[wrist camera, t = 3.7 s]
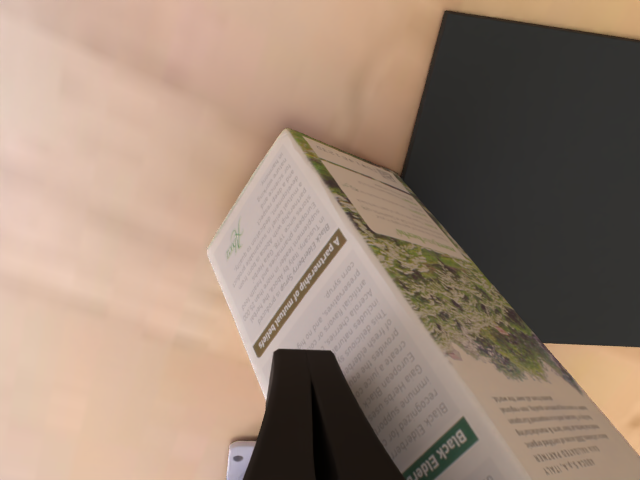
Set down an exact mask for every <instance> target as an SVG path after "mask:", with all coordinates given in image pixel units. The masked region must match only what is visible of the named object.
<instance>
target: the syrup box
mask: <svg viewBox="0 0 640 480" xmlns="http://www.w3.org/2000/svg"><path fill="white" fill-rule="evenodd" d="M207 255H208V258H209V260H210V263H211V265H212V268H213V270H214V273H215V275H216V278H217V280H218V282H219V285H220V287H221V289H222V292H223V294H224V296H225V299H226V301H227V304H228V306H229V309H230V311H231V313H232V316H233V318H234V321H235V323H236V326H237V329H238V331H239V334H240V336H241V339H242V341H243V344H244V346H245V349H246V351H247V353H248V356H249V359H250V362H251V364H252V366H253V369H254V372H255V374H256V377H257V379H258V382H259V384H260V387H261V389H262V392H263V395H264V397H265V400H266V399H267V392H268V386H269V379H270V372H271V365H272V358H273V352H274V351H276V350H277V349H306V350H331V351H332V352H333V353H334V354H335V357H336V359H337V361H338V364H339V366H340V368H341V370H342V372H343V375H344V377H345V379H346V381H347V383H348V385H349V387H350V389H351V391H352V393H353V395H354V396H355V398H356V400H357V402H358V404H359V406H360V408H361V409H362V411H363V413H364V415H365V416H366V418H367V420H368V422H369V423H370V425H371V427H372V428H373V430H374V432H375V434H376V435H377V437H378V438H379V440H380V442H381V443H382V445H383V446H384V448H385V450H386V451H387V453H388V454H389V456H390V457H391V459H392V460H393V462H394V463H395V465H396V466H397V468H398V469H399V471H400V472H401V473H402V475H403V476H404V478H405V479H406V480H640V456H639V455H638V453H637V452H636V451H635V450H634V449H633V448H632V446H631V445H630V444H629V443H628V442H627V440H626V439H625V438H624V437H623V436H622V435H621V433H620V432H619V431H618V430H617V429H616V428H615V427H614V425H613V424H612V423H611V422H610V421H609V419H608V418H607V417H606V416H605V415H604V413H603V412H602V411H601V410H600V409H599V408H598V407H597V406H596V404H595V403H594V402H593V401H592V400H591V399H590V397H589V396H588V395H587V394H586V393H585V391H584V390H583V389H582V388H581V387H580V386H579V384H578V383H577V382H576V381H575V380H574V378H573V377H572V376H571V375H570V374H569V373H568V372H567V370H566V369H565V368H564V367H563V366H562V365H561V364H560V363H559V361H558V360H557V359H556V358H555V357H554V356H553V355H552V353H551V352H550V351H549V350H548V349H547V348H546V346H545V345H544V344H543V343H542V342H541V341H540V340H539V338H538V337H537V336H536V335H535V334H534V333H533V332H532V330H531V329H530V328H529V327H528V326H527V325H526V323H525V322H524V321H523V320H522V319H521V318H520V316H519V315H518V314H517V313H516V312H515V310H514V309H513V308H512V307H511V306H510V304H509V303H508V302H507V301H506V300H505V298H504V297H503V296H502V295H501V294H500V293H499V291H498V290H497V289H496V288H495V287H494V286H493V285H492V284H491V283H490V282H489V280H488V279H487V278H486V277H485V276H484V274H483V273H482V272H481V271H480V270H479V268H478V267H477V266H476V265H475V263H474V262H473V261H472V260H471V259H470V258H469V256H468V255H467V254H466V253H465V252H464V250H463V249H462V248H461V247H460V246H459V245H458V244H457V242H456V241H455V240H454V239H453V238H452V237H451V236H450V234H449V233H448V232H447V231H446V230H445V228H444V227H443V226H442V225H441V224H440V223H439V222H438V221H437V219H436V218H435V217H434V216H433V215H432V214H431V212H430V211H429V210H428V209H427V208H426V207H425V206H424V204H423V203H422V202H421V201H420V200H419V199H418V197H417V196H416V195H415V194H414V193H413V192H412V190H411V189H410V188H409V187H408V186H407V185H406V184H405V182H404V181H403V180H402V179H401V178H400V177H399V175H398V174H397V173H395V172H394V171H391V170H389V169H386V168H384V167H382V166H379V165H376V164H374V163H372V162H369V161H367V160H365V159H361V158H359V157H357V156H355V155H352V154H350V153H347V152H345V151H342V150H340V149H338V148H335V147H333V146H330V145H328V144H325V143H323V142H321V141H318V140H316V139H314V138H311V137H309V136H307V135H305V134H302V133H300V132H297V131H294V130H292V129H289V128H286V129H284V130H283V131H282V132H281V133H280V135H279V136H278V138H277V139H276V140H275V142H274V144H273V145H272V146H271V148H270V149H269V151H268V152H267V154H266V155H265V157H264V158H263V159H262V161H261V162H260V164H259V165H258V167H257V168H256V170H255V172H254V173H253V175H252V176H251V178H250V180H249V181H248V183H247V184H246V186H245V187H244V189H243V191H242V192H241V194H240V196H239V197H238V199H237V200H236V202H235V203H234V205H233V207H232V208H231V210H230V211H229V213H228V215H227V216H226V218H225V220H224V221H223V223H222V224H221V226H220V228H219V229H218V231H217V232H216V234H215V236H214V237H213V239H212V241H211V242H210V244H209V245H208V247H207Z"/></svg>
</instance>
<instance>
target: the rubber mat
mask: <svg viewBox="0 0 640 480" xmlns="http://www.w3.org/2000/svg"><path fill="white" fill-rule="evenodd" d="M401 179H402V180H403V181H404V182H405V184H406V185H407V186H408V187H409V188H410V189H411V190H412V192H413V193H414V194H415V195H416V196H417V197H418V199H419V200H420V201H421V202H422V203H423V204H424V206H425V207H426V208H427V209H428V210H429V211H430V212H431V214H432V215H433V216H434V217H435V218H436V219H437V221H438V222H439V223H440V224H441V225H442V226H443V227H444V228H445V230H446V231H447V232H448V233H449V234H450V236H451V237H452V238H453V239H454V240H455V241H456V242H457V244H458V245H459V246H460V247H461V248H462V249H463V250H464V252H465V253H466V254H467V255H468V256H469V258H470V259H471V260H472V261H473V262H474V263H475V265H476V266H477V267H478V268H479V270H480V271H481V272H482V273H483V274H484V276H485V277H486V278H487V279H488V280H489V282H490V283H491V284H492V285H493V286H494V287H495V288H496V289H497V290H498V291H499V293H500V294H501V295H502V296H503V297H504V298H505V300H506V301H507V302H508V303H509V304H510V306H511V307H512V308H513V309H514V310H515V312H516V313H517V314H518V315H519V316H520V318H521V319H522V320H523V321H524V322H525V323H526V325H527V326H528V327H529V328H530V329H531V330H532V332H533V333H534V334H535V335H536V336H537V337H538V338H539V340H540V341H541V342H542V343H556V344H579V345H602V346H625V347H640V40H634V39H628V38H621V37H615V36H608V35H602V34H595V33H588V32H582V31H575V30H569V29H562V28H556V27H549V26H543V25H536V24H530V23H523V22H517V21H510V20H504V19H497V18H491V17H484V16H478V15H471V14H465V13H458V12H451V11H445V13H444V16H443V20H442V24H441V28H440V32H439V35H438V39H437V43H436V47H435V51H434V54H433V58H432V62H431V66H430V70H429V73H428V77H427V81H426V85H425V89H424V92H423V96H422V100H421V104H420V107H419V111H418V115H417V119H416V123H415V126H414V130H413V134H412V138H411V142H410V145H409V149H408V153H407V157H406V161H405V164H404V168H403V172H402V176H401Z"/></svg>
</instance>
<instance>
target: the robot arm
mask: <svg viewBox="0 0 640 480" xmlns="http://www.w3.org/2000/svg"><path fill="white" fill-rule="evenodd" d="M226 480H406V479H405V478H404V476H403V475H402V473H401V472H400V471H399V469H398V468H397V466H396V465H395V463H394V462H393V460H392V459H391V457H390V456H389V454H388V453H387V451H386V450H385V448H384V446H383V445H382V443H381V442H380V440H379V438H378V437H377V435H376V434H375V432H374V430H373V428H372V427H371V425H370V423H369V422H368V420H367V418H366V416H365V415H364V413H363V411H362V409H361V408H360V406H359V404H358V402H357V400H356V398H355V396H354V395H353V393H352V391H351V389H350V387H349V385H348V383H347V381H346V379H345V377H344V375H343V372H342V370H341V368H340V366H339V364H338V361H337V359H336V357H335V354H334V353H333V352H332V351H331V350H306V349H277V350H276V351H274V352H273V358H272V365H271V372H270V379H269V386H268V392H267V399H266V411H265V414H264V418H263V422H262V426H261V429H260V432H259V435H258V438H257V441H235V442H233V443H232V444H230V447H229V456H228V466H227V476H226Z"/></svg>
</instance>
